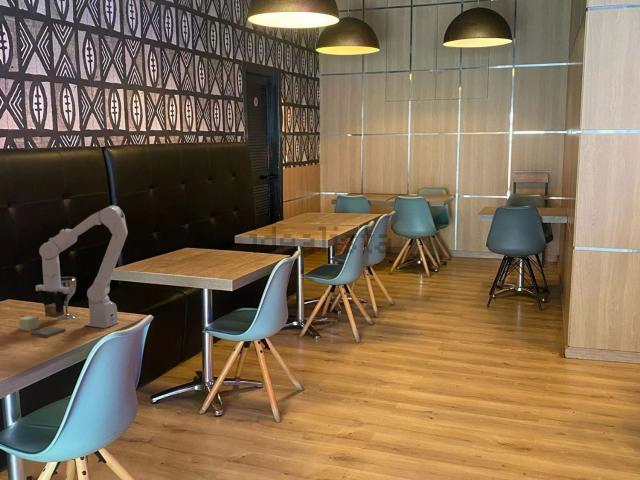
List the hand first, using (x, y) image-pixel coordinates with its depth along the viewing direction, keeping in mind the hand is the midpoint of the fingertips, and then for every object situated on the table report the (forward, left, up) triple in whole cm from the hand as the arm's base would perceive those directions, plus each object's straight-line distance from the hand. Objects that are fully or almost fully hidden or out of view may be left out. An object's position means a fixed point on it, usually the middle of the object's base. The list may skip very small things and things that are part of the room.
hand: (54, 311), depth 230 cm
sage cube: (+6, +6, -6) cm, 10 cm away
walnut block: (0, 0, -2) cm, 2 cm away
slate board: (-5, +8, -5) cm, 11 cm away
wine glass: (+5, -11, -6) cm, 13 cm away
